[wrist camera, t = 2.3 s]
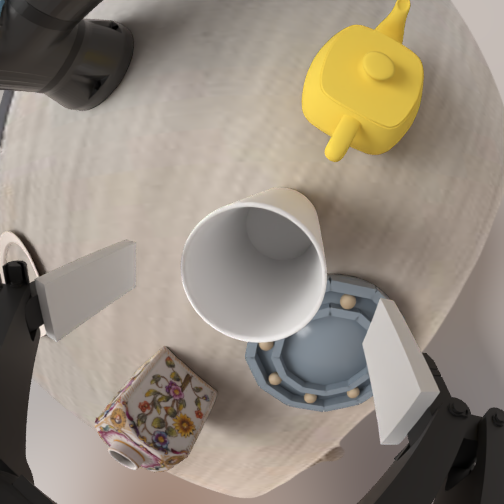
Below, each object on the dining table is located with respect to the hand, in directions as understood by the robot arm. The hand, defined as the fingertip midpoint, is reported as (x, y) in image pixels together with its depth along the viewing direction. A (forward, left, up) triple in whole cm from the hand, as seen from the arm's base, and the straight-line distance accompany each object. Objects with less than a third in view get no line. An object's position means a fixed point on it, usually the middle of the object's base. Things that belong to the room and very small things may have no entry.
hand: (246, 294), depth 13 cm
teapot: (-16, +6, -18) cm, 25 cm away
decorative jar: (+29, -12, -18) cm, 36 cm away
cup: (0, 0, -18) cm, 18 cm away
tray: (+14, +9, -17) cm, 24 cm away
